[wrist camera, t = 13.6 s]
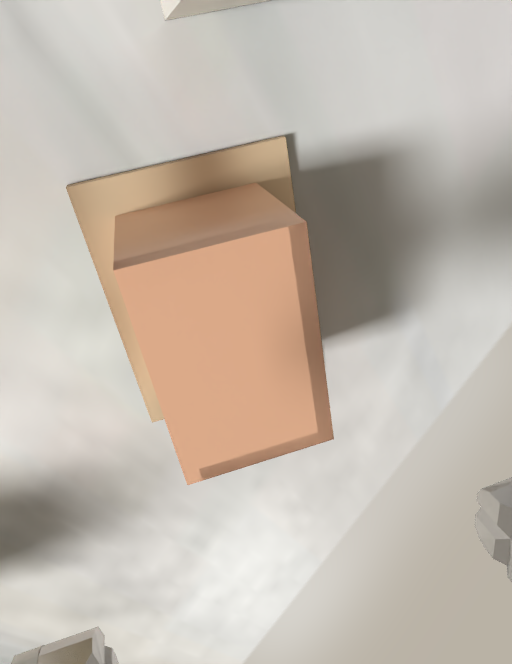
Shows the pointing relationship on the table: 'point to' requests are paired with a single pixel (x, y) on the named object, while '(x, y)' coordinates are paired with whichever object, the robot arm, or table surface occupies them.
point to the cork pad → (162, 188)
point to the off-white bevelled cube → (199, 6)
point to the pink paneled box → (226, 326)
